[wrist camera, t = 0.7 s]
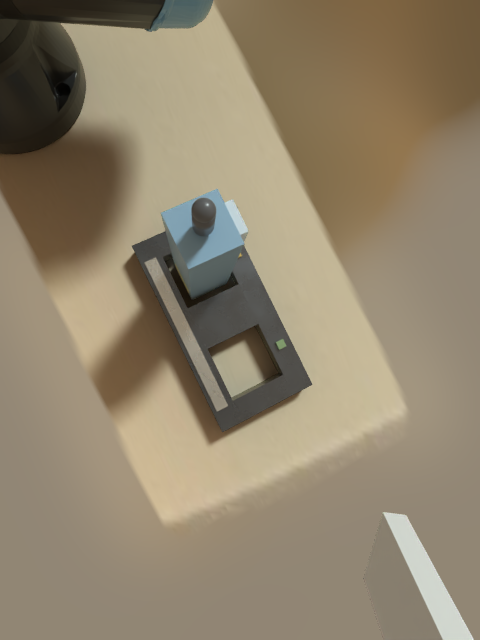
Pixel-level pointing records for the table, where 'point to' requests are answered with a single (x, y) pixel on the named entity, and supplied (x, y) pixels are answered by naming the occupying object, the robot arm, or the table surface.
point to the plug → (205, 241)
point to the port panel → (225, 333)
